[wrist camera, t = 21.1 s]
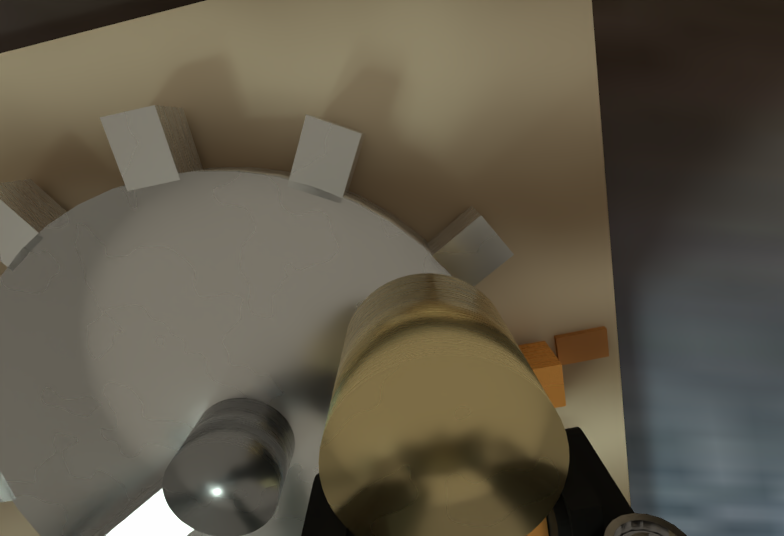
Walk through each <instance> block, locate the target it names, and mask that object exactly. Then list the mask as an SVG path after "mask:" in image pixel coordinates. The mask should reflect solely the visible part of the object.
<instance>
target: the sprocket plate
mask: <svg viewBox="0 0 784 536" xmlns="http://www.w3.org/2000/svg"><path fill="white" fill-rule="evenodd" d="M153 105H159V106H168V107H177V108H183V110H184V113H185V116H186V119H187V122H188V125H189V128H190V131H191V134H192V137H193V141H194V144H195V147H196V150H197V153H198V156H199V159H200V162H201V165H202V168H203V169H205V168H212V167H256V168H264V169H272V170H280V171H288V172H291V170H292V166H293V163H294V159H295V155H296V151H297V147H298V143H299V140H300V136H301V132H302V128H303V124H304V120H305V117H306V115H311V116H316V117H319V118H322V119H325V120H328V121H331V122H334V123H337V124H340V125H342V126H345V127H348V128H351V129H354V130H357V131H360V132H363V133H365V137H364V140H363V143H362V146H361V150H360V153H359V156H358V160H357V163H356V166H355V170H354V173H353V176H352V180H351V183H350V186H349V190H348V191H350V192H353V193H355V194H358V195H360V196H362V197H364V198H365V199H367V200H369V201H371V202H372V203H374V204H376V205H378V206H380V207H381V208H383V209H385V210H387V211H388V212H390V213H392V214H393V215H394V216H396V217H397V218H398V219H400V220H401V221H402V222H404V223H405V224H406V225H408V226H409V227H410V228H412V229H413V230H414V231H416V232H417V233H418V234H420V235H421V236H422V237H423V238H424V239H425V240H426V241H427V242H429V241H430V240H431V239H432V238H434V237H435V236H436V235H437V234H438V233H440V232H441V231H442V230H443V229H444V228H445V227H447V226H448V225H449V224H450V223H451V222H453V221H454V220H455V219H456V218H457V217H459V216H460V215H461V214H462V213H463V212H464V211H466V210H467V209H468V208H469V207H470V206H472V207H473V208H474V209H475V210H476V211H477V212H478V213H479V214H480V215H481V216H482V217H483V218H484V219H485V220H486V222H487V223H488V224H489V225H490V226H491V228H492V229H493V230H494V231H495V232H496V234H497V235H498V236H499V237H500V238H501V239H502V241H503V242H504V243H505V244H506V245H507V247H508V248H509V249H510V250H511V251H512V253H513V254H514V255H513V256H512V257H510V258H509V259H508V260H507V261H505V262H504V263H503V264H502V265H500V266H499V267H498V268H497V269H495V270H494V271H493V272H492V273H490V274H489V275H488V276H487V277H485V278H484V279H483V280H482V281H480V282H479V283H478V284H477V285H475V286H474V287H476V288H477V289H478V290H480V291H481V292H482V293H483V294H484V295H485V296H486V297H487V298H489V299H490V301H491V302H492V303H493V305H494V306H495V307H496V309H497V310H498V312H499V314H500V315H501V317H502V319H503V321H504V322H505V324H506V326H507V327H508V329H509V331H510V333H511V334H512V336H513V338H514V339H515V341H516V343H517V344H518V345H523V344H528V343H534V342H539V341H545V342H546V343H547V344H548V346H549V347H550V349H551V350H552V351H553V353H554V354H555V356H556V357H557V358H558V360H559V361H560V362H561V364H562V371H563V380H564V390H565V400H566V406H563V407H558V408H555V409H556V411H557V413H558V415H559V416H560V418H561V420H562V423H563V426H564V428H565V429H567V428H573V427H579V428H581V430H582V431H583V432H584V434H585V435H586V437H587V439H588V440H589V442H590V443H591V445H592V446H593V448H594V450H595V451H596V453H597V454H598V456H599V458H600V459H601V461H602V462H603V464H604V465H605V467H606V469H607V470H608V472H609V473H610V475H611V477H612V478H613V480H614V481H615V483H616V484H617V486H618V488H619V489H620V491H621V492H622V494H623V496H624V497H625V499H626V500H627V502H628V504H629V505H630V507H631V504H630V491H629V478H628V465H627V452H626V439H625V426H624V413H623V400H622V387H621V374H620V361H619V348H618V335H617V322H616V309H615V296H614V283H613V270H612V257H611V244H610V231H609V218H608V205H607V192H606V179H605V166H604V153H603V140H602V127H601V115H600V102H599V89H598V76H597V63H596V50H595V37H594V24H593V11H592V0H206V1H202V2H198V3H194V4H190V5H186V6H183V7H179V8H175V9H171V10H167V11H163V12H159V13H155V14H151V15H148V16H144V17H140V18H136V19H132V20H128V21H124V22H120V23H117V24H113V25H109V26H105V27H101V28H97V29H93V30H89V31H86V32H82V33H78V34H74V35H70V36H66V37H62V38H58V39H54V40H51V41H47V42H43V43H39V44H35V45H31V46H27V47H23V48H20V49H16V50H12V51H8V52H4V53H0V183H5V182H12V181H20V180H28V179H31V180H32V181H33V182H34V183H35V184H37V185H38V186H39V187H40V188H41V189H42V190H43V191H44V192H45V193H47V194H48V195H49V196H50V197H51V198H52V199H53V200H54V201H55V202H57V203H58V204H59V205H60V206H61V207H62V208H63V209H64V210H65V211H67V212H68V211H69V210H71V209H72V208H74V207H75V206H77V205H78V204H81V203H83V202H85V201H87V200H89V199H91V198H94V197H96V196H98V195H100V194H102V193H104V192H107V191H109V190H111V189H113V188H117V187H120V186H124V185H125V183H124V181H123V178H122V175H121V173H120V170H119V167H118V165H117V162H116V160H115V157H114V154H113V152H112V149H111V146H110V144H109V141H108V138H107V136H106V133H105V130H104V128H103V125H102V123H101V120H100V117H104V116H108V115H113V114H117V113H122V112H126V111H130V110H135V109H139V108H144V107H148V106H153ZM7 268H8V267H7V266H6V265H5V264H3V263H2V262H1V261H0V277H1V275H2V274H3V273H4V271H5V270H6V269H7ZM0 536H41V535H40V534H39V533H38V532H37V531H36V530H35V529H34V528H33V527H32V525H31V524H30V523H29V522H28V521H27V519H26V518H25V517H24V516H23V515H22V513H21V512H20V511H19V510H18V509H17V507H16V506H15V504H14V502H13V501H6V502H1V503H0Z"/></svg>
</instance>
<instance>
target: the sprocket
mask: <svg viewBox="0 0 784 536" xmlns="http://www.w3.org/2000/svg"><path fill="white" fill-rule="evenodd" d="M100 120H101V123H102V125H103V128H104V130H105V133H106V136H107V138H108V141H109V144H110V146H111V149H112V152H113V154H114V157H115V160H116V162H117V165H118V167H119V170H120V173H121V175H122V178H123V181H124V183H125V185H124V186H120V187H117V188H113V189H111V190H109V191H107V192H104V193H102V194H100V195H98V196H96V197H94V198H91V199H89V200H87V201H85V202H83V203H81V204H78V205H77V206H75V207H74V208H72V209H71V210H69V211H68V212H67V211H65V210H64V209H63V208H62V207H61V206H60V205H59V204H58V203H57V202H55V201H54V200H53V199H52V198H51V197H50V196H49V195H48V194H47V193H45V192H44V191H43V190H42V189H41V188H40V187H39V186H38V185H37V184H35V183H34V182H33V181H32V180H31V179H28V180H20V181H12V182H5V183H0V261H1V262H2V263H3V264H5V265H6V266H7V267H8V268H7V269H6V270H5V271H4V273H3V274H2V275H1V277H0V503H1V502H6V501H13V502H14V504H15V506H16V507H17V509H18V510H19V511H20V512H21V513H22V515H23V516H24V517H25V518H26V519H27V521H28V522H29V523H30V524H31V525H32V527H33V528H34V529H35V530H36V531H37V532H38V533H39V534H40V535H41V536H301V534H302V529H303V525H304V520H305V516H306V512H307V507H308V503H309V498H310V494H311V490H312V485H313V481H314V478H315V476H316V475H317V474H318V473H319V463H318V462H319V450H320V445H321V441H322V437H323V432H324V428H325V424H326V419H327V415H328V411H329V406H330V402H331V398H332V393H333V389H334V385H335V380H336V376H337V372H338V367H339V363H340V359H341V354H342V350H343V346H344V341H345V337H346V333H347V329H348V326H349V323H350V321H351V318H352V317H353V315H354V313H355V311H356V310H357V308H358V307H359V306H360V304H361V303H362V302H363V301H364V300H365V299H366V298H367V297H368V296H369V295H370V294H371V293H372V292H374V291H375V290H376V289H378V288H379V287H381V286H383V285H384V284H386V283H388V282H390V281H392V280H395V279H397V278H400V277H404V276H408V275H413V274H420V273H435V274H443V275H448V276H452V277H455V278H458V279H460V280H463V281H465V282H467V283H469V284H471V285H472V286H475V285H477V284H478V283H479V282H480V281H482V280H483V279H484V278H485V277H487V276H488V275H489V274H490V273H492V272H493V271H494V270H495V269H497V268H498V267H499V266H500V265H502V264H503V263H504V262H505V261H507V260H508V259H509V258H510V257H512V256H513V255H514V254H513V253H512V251H511V250H510V249H509V248H508V247H507V245H506V244H505V243H504V242H503V241H502V239H501V238H500V237H499V236H498V235H497V234H496V232H495V231H494V230H493V229H492V228H491V226H490V225H489V224H488V223H487V222H486V220H485V219H484V218H483V217H482V216H481V215H480V214H479V213H478V212H477V211H476V210H475V209H474V208H473V207H472V206H470V207H469V208H468V209H467V210H466V211H464V212H463V213H462V214H461V215H460V216H459V217H457V218H456V219H455V220H454V221H453V222H451V223H450V224H449V225H448V226H447V227H445V228H444V229H443V230H442V231H441V232H440V233H438V234H437V235H436V236H435V237H434V238H432V239H431V240H430V241H429V242H427V241H426V240H425V239H424V238H423V237H422V236H421V235H420V234H418V233H417V232H416V231H414V230H413V229H412V228H410V227H409V226H408V225H406V224H405V223H404V222H402V221H401V220H400V219H398V218H397V217H396V216H394V215H393V214H392V213H390V212H388V211H387V210H385V209H383V208H381V207H380V206H378V205H376V204H374V203H372V202H371V201H369V200H367V199H365V198H364V197H362V196H360V195H358V194H355V193H353V192H350V191H348V190H349V186H350V183H351V180H352V176H353V173H354V170H355V166H356V163H357V160H358V156H359V153H360V150H361V146H362V143H363V140H364V137H365V133H363V132H360V131H357V130H354V129H351V128H348V127H345V126H342V125H340V124H337V123H334V122H331V121H328V120H325V119H322V118H319V117H316V116H311V115H306V117H305V120H304V124H303V128H302V132H301V136H300V140H299V143H298V147H297V151H296V155H295V159H294V163H293V166H292V170H291V172H288V171H280V170H272V169H264V168H256V167H212V168H205V169H203V168H202V165H201V162H200V159H199V156H198V153H197V150H196V147H195V144H194V141H193V137H192V134H191V131H190V128H189V125H188V122H187V119H186V116H185V113H184V110H183V108H177V107H168V106H159V105H153V106H148V107H144V108H139V109H135V110H130V111H126V112H122V113H117V114H113V115H108V116H104V117H100ZM518 346H519V348H520V350H521V351H522V353H523V355H524V356H525V358H526V360H527V362H528V363H529V365H530V367H531V368H532V370H533V372H534V373H535V375H536V377H537V379H538V380H539V382H540V384H541V385H542V387H543V389H544V391H545V392H546V394H547V396H548V397H549V399H550V401H551V402H552V404H553V406H554V408H558V407H563V406H566V400H565V390H564V380H563V371H562V364H561V362H560V361H559V360H558V358H557V357H556V356H555V354H554V353H553V351H552V350H551V349H550V347H549V346H548V344H547V343H546V342H545V341H539V342H534V343H528V344H523V345H518Z"/></svg>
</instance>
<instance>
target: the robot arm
mask: <svg viewBox="0 0 784 536" xmlns="http://www.w3.org/2000/svg"><path fill="white" fill-rule="evenodd" d="M565 431H566V434H567V439H568V444H569V467H568V474H567V478H566V481H565V485H564V488H563V490H562V492H561V494H560V497H559V499H558V501H557V502H556V504H555V505H554V507H553V508H552V510H551V512H550V513H549V514H548V515H547V516H546V520H547V527H548V534H549V536H686V534H684V533H683V532H682V531H681V530H680V529H678V528H677V527H676V526H675V525H673V524H671V523H669V522H667V521H665V520H664V519H662V518H659V517H655V516H652V515H648V514H638V513H634V511H633V510H632V508H631V507H630V505H629V504H628V502H627V500H626V499H625V497H624V496H623V494H622V492H621V491H620V489H619V488H618V486H617V484H616V483H615V481H614V480H613V478H612V477H611V475H610V473H609V472H608V470H607V469H606V467H605V465H604V464H603V462H602V461H601V459H600V458H599V456H598V454H597V453H596V451H595V450H594V448H593V446H592V445H591V443H590V442H589V440H588V439H587V437H586V435H585V434H584V432H583V431H582V430H581V428H579V427H573V428H567V429H565ZM301 536H356V535H354V534H353V533H352V532H351V531H350V530H349V529H348V528H347V527H346V526H345V525H344V524H343V523H342V522H341V521H340V519H339V518H338V517H337V516H336V514H335V513H334V512H333V510H332V508H331V506H330V505H329V503H328V501H327V499H326V496H325V494H324V491H323V489H322V485H321V480H320V476H319V473H318V474H317V475H316V476H315V478H314V481H313V485H312V490H311V494H310V498H309V503H308V507H307V512H306V516H305V520H304V525H303V529H302V534H301Z"/></svg>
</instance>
